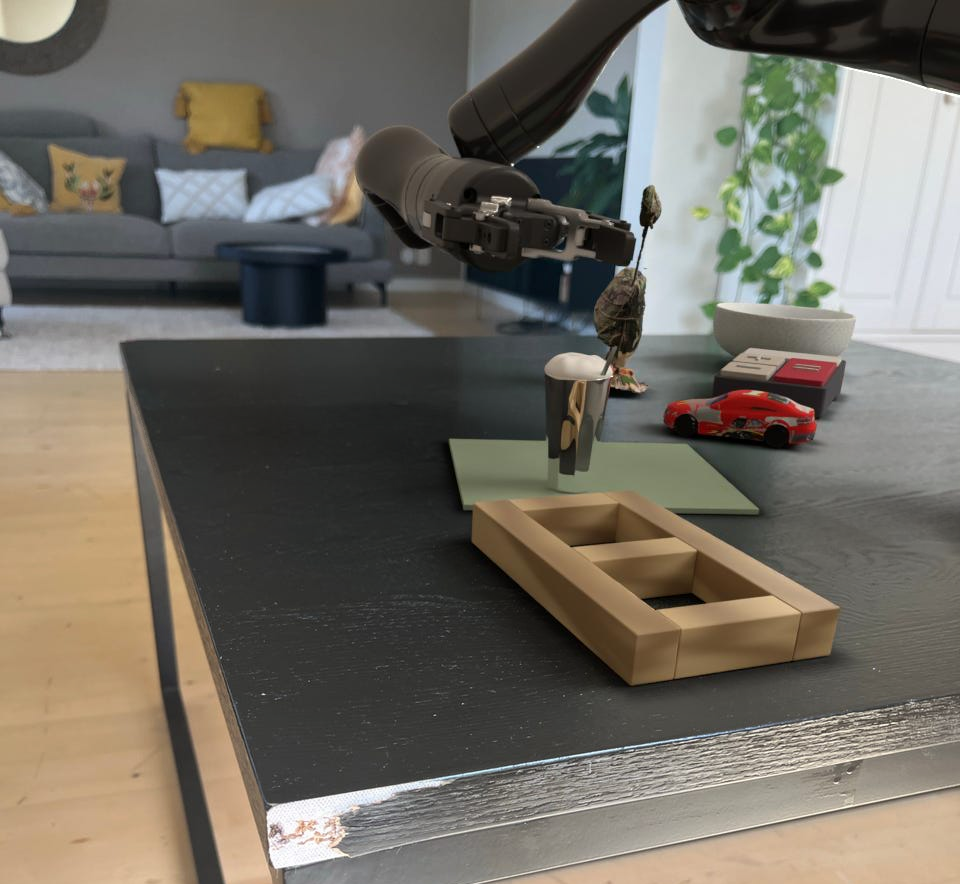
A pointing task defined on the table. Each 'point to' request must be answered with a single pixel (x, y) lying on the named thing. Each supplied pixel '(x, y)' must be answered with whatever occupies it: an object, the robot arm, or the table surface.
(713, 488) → the mat
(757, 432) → the race car
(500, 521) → the frame
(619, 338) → the plant with pod
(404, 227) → the robot arm
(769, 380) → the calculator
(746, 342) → the cereal bowl
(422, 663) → the table surface
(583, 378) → the milkshake
